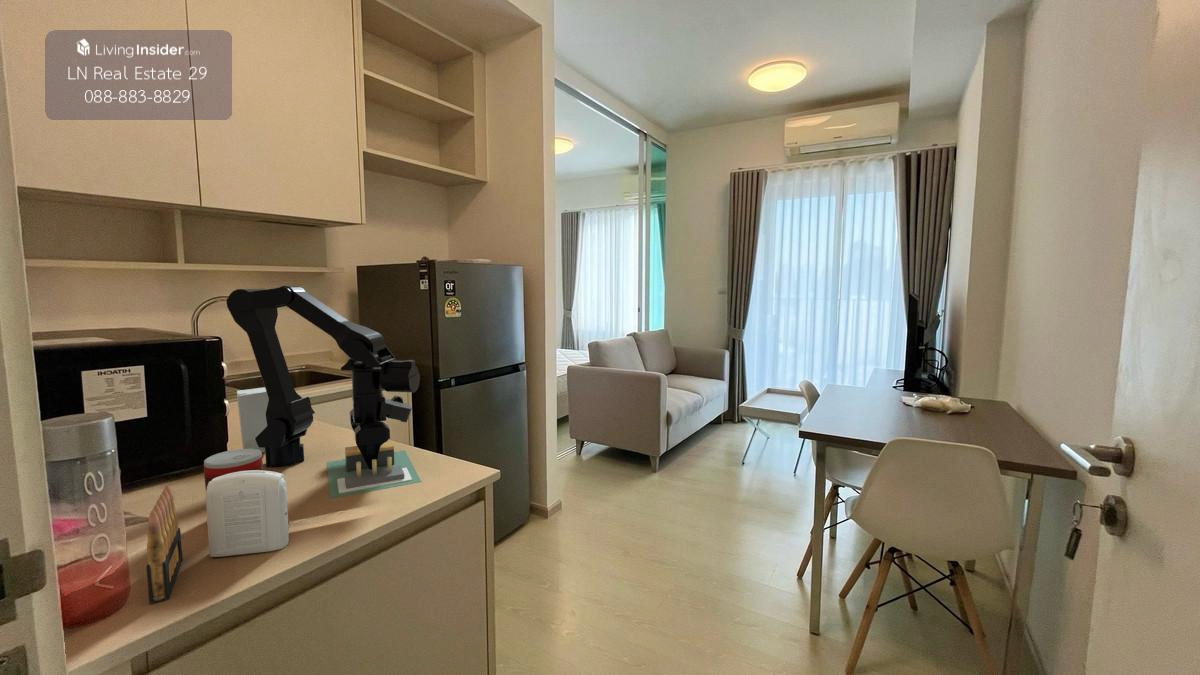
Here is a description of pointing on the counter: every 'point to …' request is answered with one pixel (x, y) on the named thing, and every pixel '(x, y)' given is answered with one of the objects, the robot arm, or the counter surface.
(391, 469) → the board
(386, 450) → the yellow and grey block
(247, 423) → the skincare box
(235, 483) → the photo printer
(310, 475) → the counter surface
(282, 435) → the robot arm
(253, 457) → the canned food
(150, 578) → the ammunition clip
